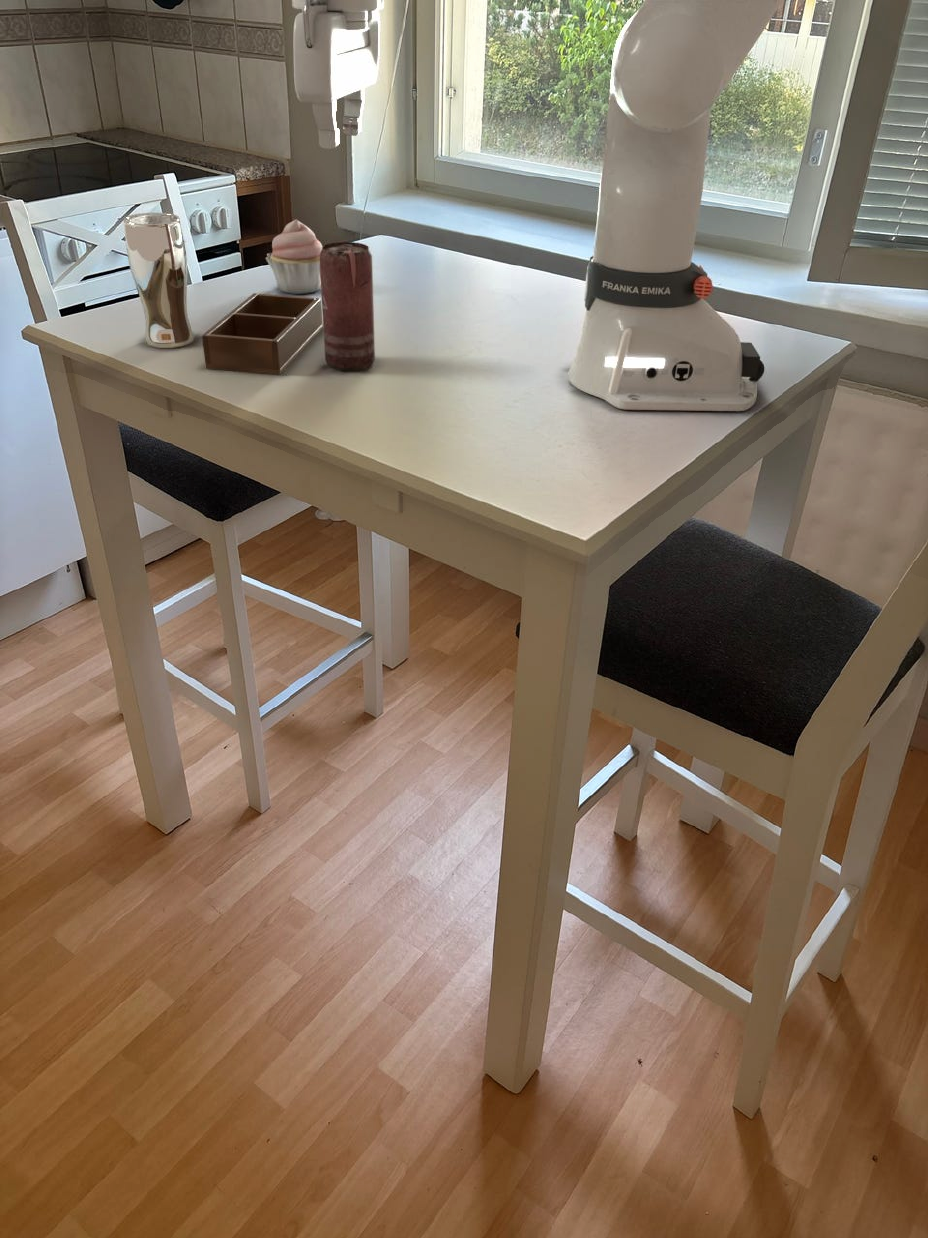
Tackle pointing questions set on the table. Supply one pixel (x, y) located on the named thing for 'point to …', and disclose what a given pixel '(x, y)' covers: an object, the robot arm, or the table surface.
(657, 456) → the table surface
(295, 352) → the tray
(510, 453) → the table surface
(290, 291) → the cupcake
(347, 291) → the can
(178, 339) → the beer glass
